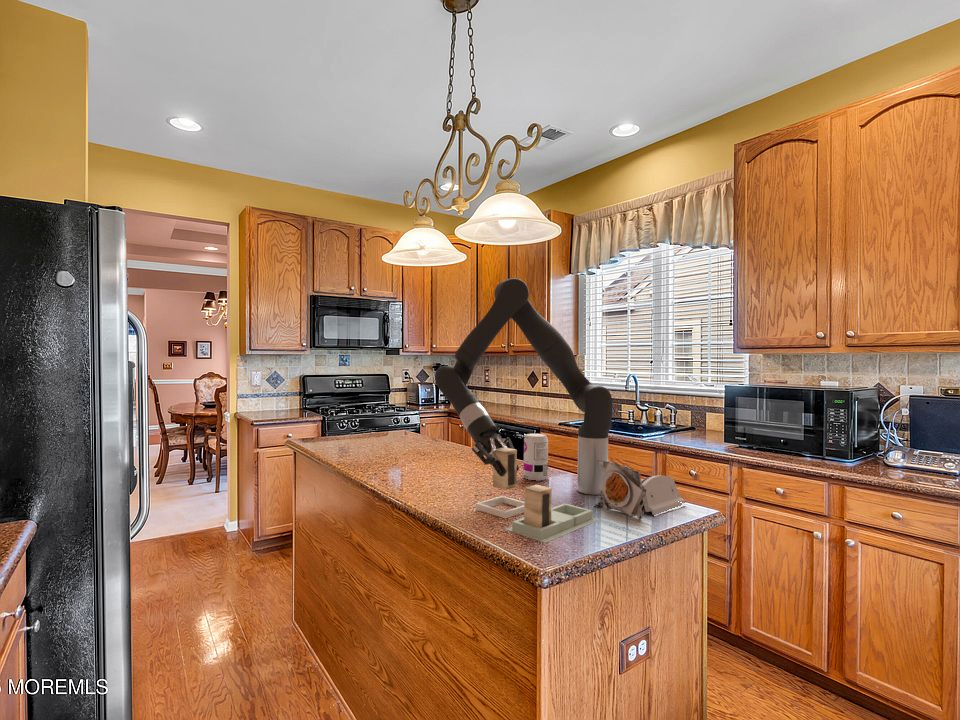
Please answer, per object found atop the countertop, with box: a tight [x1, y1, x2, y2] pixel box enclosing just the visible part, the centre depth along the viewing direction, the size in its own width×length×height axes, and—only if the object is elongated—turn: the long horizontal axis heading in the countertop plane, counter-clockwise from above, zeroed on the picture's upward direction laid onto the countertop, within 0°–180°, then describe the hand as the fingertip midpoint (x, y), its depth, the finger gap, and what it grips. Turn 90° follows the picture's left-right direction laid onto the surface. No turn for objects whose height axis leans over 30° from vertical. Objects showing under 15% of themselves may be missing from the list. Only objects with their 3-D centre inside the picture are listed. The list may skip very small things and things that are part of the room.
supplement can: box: [522, 432, 549, 482], centre depth 173 cm, size 8×8×15 cm
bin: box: [475, 495, 525, 519], centre depth 134 cm, size 11×11×2 cm
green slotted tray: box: [504, 503, 601, 544], centre depth 123 cm, size 23×12×3 cm, turn 136°
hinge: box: [640, 474, 686, 516], centre depth 141 cm, size 17×5×10 cm, turn 129°
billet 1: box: [492, 448, 518, 491], centre depth 134 cm, size 4×5×10 cm
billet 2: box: [523, 484, 553, 528], centre depth 118 cm, size 4×5×10 cm
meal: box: [593, 460, 646, 521], centre depth 136 cm, size 15×4×13 cm, turn 35°
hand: (510, 472), depth 133 cm, fingers closed on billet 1, 4 cm apart
